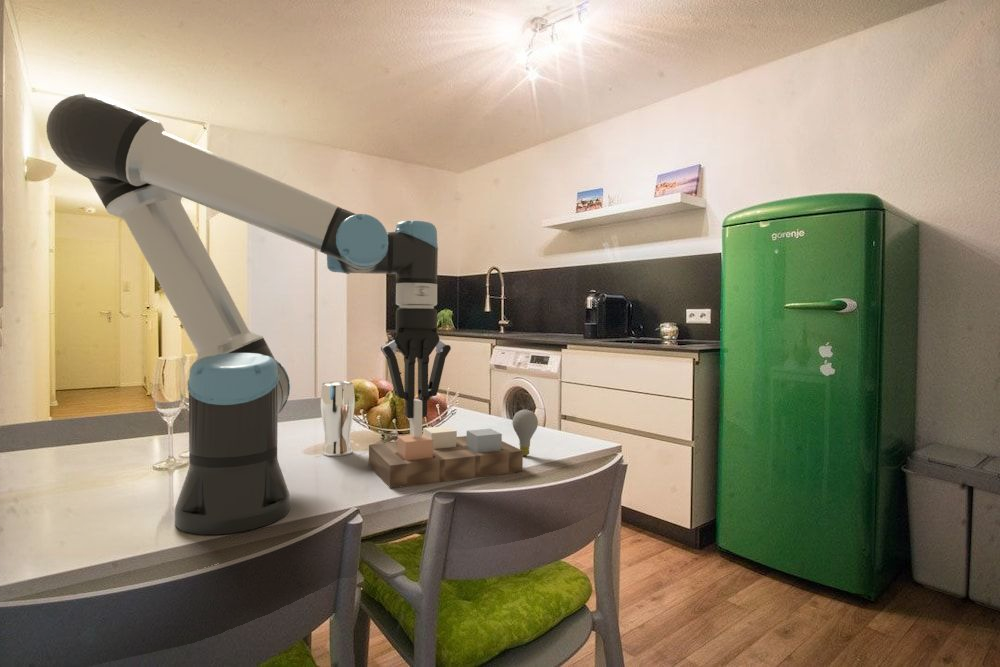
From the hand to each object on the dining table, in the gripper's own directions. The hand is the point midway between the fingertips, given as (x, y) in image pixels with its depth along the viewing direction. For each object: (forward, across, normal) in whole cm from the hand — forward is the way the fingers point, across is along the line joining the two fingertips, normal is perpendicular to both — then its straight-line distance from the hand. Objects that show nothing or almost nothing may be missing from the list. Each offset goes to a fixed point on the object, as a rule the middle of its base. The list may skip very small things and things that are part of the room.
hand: (416, 435), depth 100 cm
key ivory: (+6, +7, +6) cm, 11 cm away
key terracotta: (+6, 0, 0) cm, 6 cm away
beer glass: (+8, -10, +23) cm, 26 cm away
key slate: (+6, +14, 0) cm, 15 cm away
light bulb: (+8, +26, +5) cm, 28 cm away
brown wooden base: (+8, +7, +3) cm, 11 cm away
